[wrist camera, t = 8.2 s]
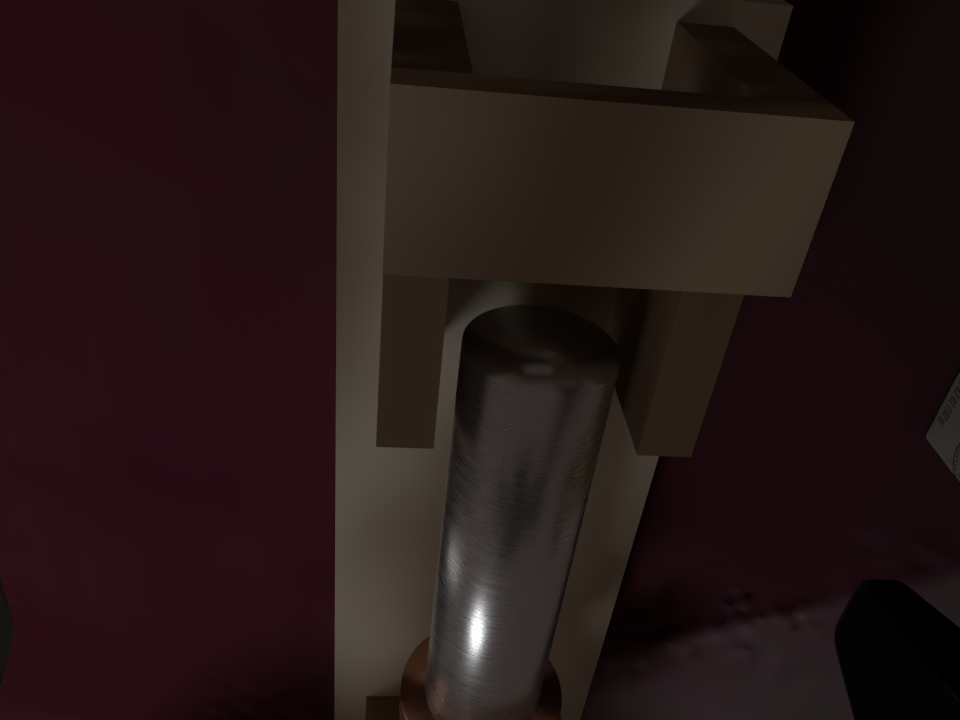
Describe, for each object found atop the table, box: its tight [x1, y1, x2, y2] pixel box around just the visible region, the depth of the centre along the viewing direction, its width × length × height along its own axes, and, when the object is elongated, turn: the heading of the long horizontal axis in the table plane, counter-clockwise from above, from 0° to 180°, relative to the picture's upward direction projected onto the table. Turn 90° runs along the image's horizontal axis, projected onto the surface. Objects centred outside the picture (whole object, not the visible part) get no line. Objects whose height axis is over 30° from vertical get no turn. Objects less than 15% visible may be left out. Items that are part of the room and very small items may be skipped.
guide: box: [334, 0, 854, 720], centre depth 22 cm, size 9×27×7 cm, turn 174°
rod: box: [399, 305, 621, 720], centre depth 23 cm, size 5×19×5 cm, turn 174°
